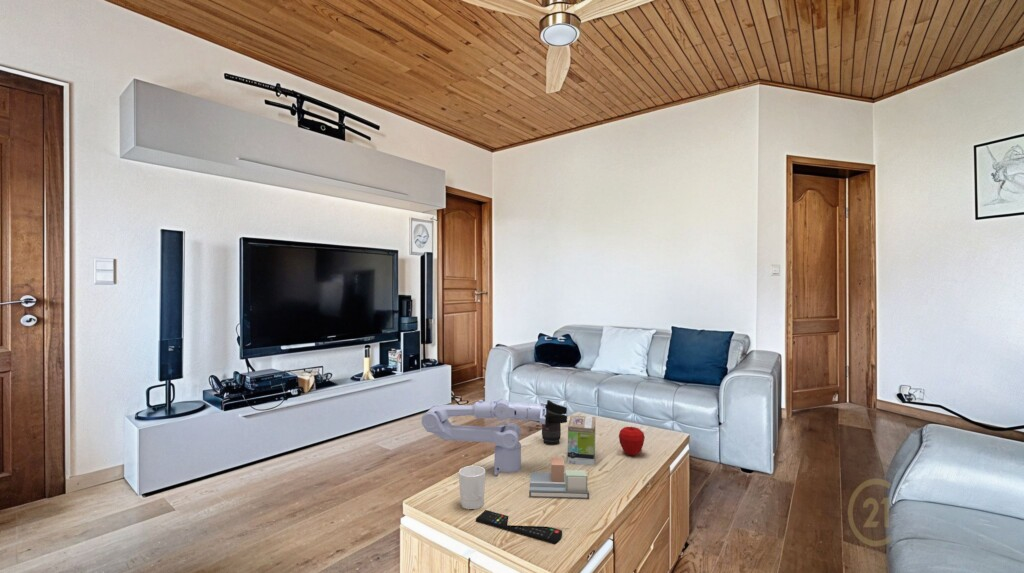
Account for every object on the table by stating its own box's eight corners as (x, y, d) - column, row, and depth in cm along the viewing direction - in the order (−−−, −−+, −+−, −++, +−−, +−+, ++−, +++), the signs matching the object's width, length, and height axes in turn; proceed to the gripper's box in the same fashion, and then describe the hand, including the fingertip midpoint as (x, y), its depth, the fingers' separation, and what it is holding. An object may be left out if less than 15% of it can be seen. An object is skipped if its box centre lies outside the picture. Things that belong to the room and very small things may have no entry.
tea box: (595, 469, 155) (595, 427, 155) (566, 467, 157) (566, 426, 157) (595, 453, 170) (595, 415, 170) (569, 451, 172) (569, 414, 172)
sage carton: (566, 495, 133) (566, 475, 133) (565, 489, 137) (565, 470, 137) (587, 495, 133) (587, 476, 133) (586, 489, 137) (586, 470, 137)
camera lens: (537, 443, 181) (537, 407, 181) (547, 437, 188) (547, 403, 188) (554, 447, 177) (554, 410, 177) (564, 441, 183) (564, 405, 183)
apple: (647, 459, 164) (647, 430, 164) (622, 458, 165) (622, 430, 165) (640, 449, 174) (640, 422, 174) (616, 449, 174) (616, 422, 174)
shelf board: (529, 501, 132) (529, 491, 132) (530, 475, 150) (530, 467, 150) (589, 503, 131) (589, 493, 131) (583, 476, 149) (583, 468, 149)
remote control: (485, 514, 125) (485, 509, 125) (564, 536, 114) (564, 531, 114) (475, 523, 120) (475, 518, 120) (556, 547, 109) (556, 541, 109)
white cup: (474, 513, 125) (474, 478, 125) (453, 506, 129) (453, 472, 129) (490, 502, 131) (490, 469, 131) (469, 495, 135) (469, 463, 136)
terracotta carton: (564, 483, 141) (564, 465, 141) (551, 483, 141) (551, 464, 141) (563, 475, 147) (563, 457, 147) (551, 474, 148) (550, 457, 148)
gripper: (527, 408, 145) (567, 411, 144) (529, 393, 160) (567, 396, 158) (526, 428, 146) (566, 432, 145) (529, 412, 160) (566, 415, 159)
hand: (566, 414), depth 151 cm, fingers open, 7 cm apart
